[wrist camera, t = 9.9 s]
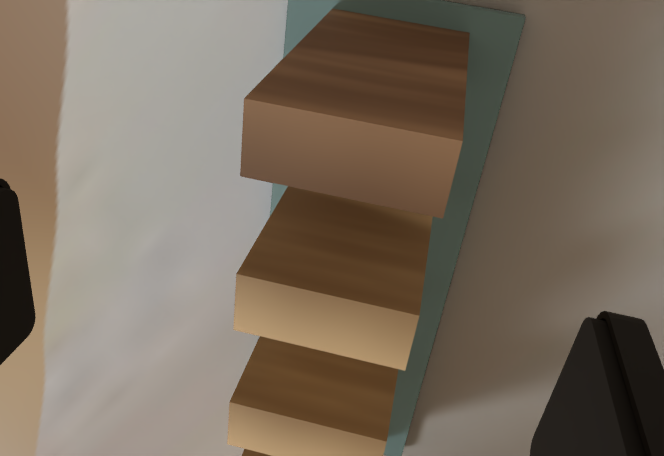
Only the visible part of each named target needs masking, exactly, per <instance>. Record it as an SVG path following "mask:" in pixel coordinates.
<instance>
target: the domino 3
mask: <svg viewBox="0 0 664 456" xmlns="http://www.w3.org/2000/svg"><path fill="white" fill-rule="evenodd" d="M397 375H398V369H396V368H392V367H387V366H383V365H379V364H375V363H371V362H366V361H362V360H358V359H354V358H350V357H346V356H341V355H337V354H333V353H329V352H325V351H320V350H316V349H312V348H308V347H304V346H299V345H295V344H291V343H287V342H283V341H279V340H274V339H270V338H266V337H262V336H260V337H259V339H258V342H257V344H256V346H255V348H254V350H253V352H252V355H251V357H250V359H249V361H248V363H247V366H246V368H245V370H244V372H243V374H242V376H241V379H240V381H239V383H238V385H237V387H236V389H235V392H234V394H233V396H232V398H231V400H230V405H229V423H228V442H227V444H229V445H233V446H237V447H240V448H244V449H248V450H252V451H256V452H260V453H264V454H267V455H271V456H383V454H384V450H385V447H386V443H387V437H388V431H389V425H390V419H391V412H392V406H393V400H394V394H395V387H396V381H397Z"/></svg>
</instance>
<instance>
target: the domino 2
mask: <svg viewBox="0 0 664 456" xmlns="http://www.w3.org/2000/svg"><path fill="white" fill-rule="evenodd" d="M432 218H433V216H428V215H423V214H418V213H414V212H409V211H404V210H399V209H395V208H390V207H385V206H380V205H375V204H371V203H366V202H361V201H356V200H352V199H347V198H342V197H337V196H333V195H328V194H323V193H318V192H314V191H309V190H304V189H299V188H294V187H290V186H288V187H287V189H286V190H285V192H284V194H283V195H282V197H281V199H280V201H279V202H278V204H277V206H276V207H275V209H274V211H273V212H272V214H271V216H270V218H269V219H268V221H267V223H266V224H265V226H264V228H263V230H262V231H261V233H260V235H259V236H258V238H257V240H256V242H255V243H254V245H253V247H252V248H251V250H250V252H249V253H248V255H247V257H246V259H245V260H244V262H243V264H242V265H241V267H240V269H239V271H238V272H237V274H236V293H235V312H234V330H237V331H241V332H245V333H249V334H253V335H258V336H262V337H266V338H270V339H274V340H279V341H283V342H287V343H291V344H295V345H299V346H304V347H308V348H312V349H316V350H320V351H325V352H329V353H333V354H337V355H341V356H346V357H350V358H354V359H358V360H362V361H366V362H371V363H375V364H379V365H383V366H387V367H392V368H396V369H400V370H404V371H405V370H406V366H407V362H408V358H409V354H410V350H411V346H412V343H413V339H414V335H415V331H416V327H417V323H418V319H419V315H420V308H421V300H422V293H423V285H424V278H425V270H426V263H427V255H428V248H429V240H430V233H431V225H432Z"/></svg>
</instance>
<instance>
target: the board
mask: <svg viewBox="0 0 664 456" xmlns="http://www.w3.org/2000/svg"><path fill="white" fill-rule="evenodd" d="M332 8H333V9H338V10H344V11H350V12H355V13H361V14H367V15H372V16H378V17H384V18H389V19H395V20H401V21H406V22H412V23H418V24H423V25H429V26H435V27H440V28H446V29H452V30H457V31H463V32H468V33H470V35H469V51H468V67H467V83H466V99H465V115H464V131H463V142H462V146H461V150H460V154H459V158H458V162H457V166H456V170H455V174H454V178H453V182H452V185H451V189H450V193H449V197H448V201H447V205H446V209H445V213H444V217H443V219H442V218H437V217H433V218H432V225H431V233H430V240H429V248H428V255H427V263H426V270H425V278H424V285H423V293H422V300H421V308H420V315H419V319H418V323H417V327H416V331H415V335H414V339H413V343H412V346H411V350H410V354H409V358H408V362H407V366H406V370H405V371H404V370H400V369H398V375H397V381H396V387H395V394H394V400H393V406H392V412H391V419H390V425H389V431H388V437H387V443H386V447H385V450H384V454H383V455H387V456H402V452H403V449H404V445H405V442H406V438H407V435H408V431H409V428H410V424H411V421H412V417H413V414H414V410H415V406H416V403H417V399H418V396H419V392H420V389H421V385H422V382H423V378H424V375H425V371H426V368H427V364H428V361H429V357H430V354H431V350H432V346H433V343H434V339H435V336H436V332H437V329H438V325H439V322H440V318H441V315H442V311H443V308H444V304H445V301H446V297H447V294H448V290H449V287H450V283H451V279H452V276H453V272H454V269H455V265H456V262H457V258H458V255H459V251H460V248H461V244H462V241H463V237H464V234H465V230H466V227H467V223H468V219H469V216H470V212H471V209H472V205H473V202H474V198H475V195H476V191H477V188H478V184H479V181H480V177H481V174H482V170H483V167H484V163H485V160H486V156H487V152H488V149H489V145H490V142H491V138H492V135H493V131H494V128H495V124H496V121H497V117H498V114H499V110H500V107H501V103H502V100H503V96H504V92H505V89H506V85H507V82H508V78H509V75H510V71H511V68H512V64H513V61H514V57H515V54H516V50H517V47H518V43H519V40H520V36H521V32H522V29H523V25H524V22H525V18H526V17H525V15H523V14H517V13H512V12H506V11H500V10H494V9H489V8H483V7H477V6H471V5H466V4H460V3H454V2H448V1H443V0H288V8H287V20H286V32H285V44H284V56H283V58H284V57H285V56H286V55H287V54H288V53H289V52H290V51H291V50H292V49H293V48H294V47H295V46H296V45H297V44H298V43H299V42H300V41H301V40H302V39H303V38H304V37H305V36H306V35H307V34H308V33H309V32H310V31H311V30H312V29H313V28H314V27H315V26H316V25H317V24H318V23H319V22H320V21H321V20H322V18H323V17H324V16H325V15H326V14H327V13H328V12H329V11H330V10H331V9H332ZM287 187H288V186H285V185H280V184H275V183H273V187H272V199H271V211H270V216H271V214H272V212H273V211H274V209H275V207H276V206H277V204H278V202H279V201H280V199H281V197H282V195H283V194H284V192H285V190H286V189H287Z"/></svg>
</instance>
